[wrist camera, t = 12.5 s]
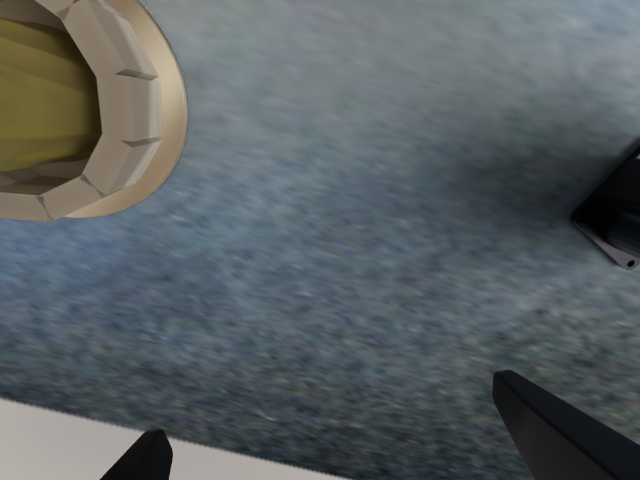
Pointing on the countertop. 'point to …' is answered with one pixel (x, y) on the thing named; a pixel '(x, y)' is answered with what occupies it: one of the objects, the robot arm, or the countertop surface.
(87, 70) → the vase
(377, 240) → the countertop surface
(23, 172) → the collar stand
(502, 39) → the countertop surface
